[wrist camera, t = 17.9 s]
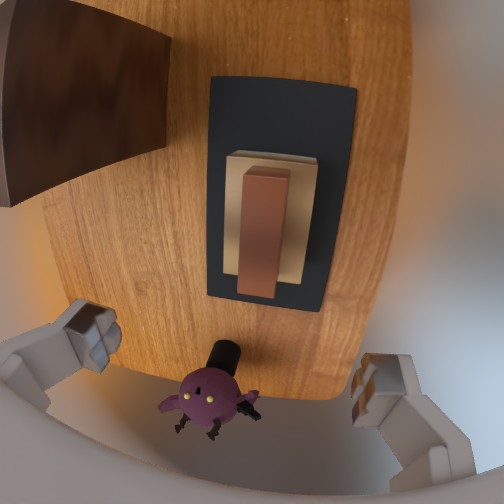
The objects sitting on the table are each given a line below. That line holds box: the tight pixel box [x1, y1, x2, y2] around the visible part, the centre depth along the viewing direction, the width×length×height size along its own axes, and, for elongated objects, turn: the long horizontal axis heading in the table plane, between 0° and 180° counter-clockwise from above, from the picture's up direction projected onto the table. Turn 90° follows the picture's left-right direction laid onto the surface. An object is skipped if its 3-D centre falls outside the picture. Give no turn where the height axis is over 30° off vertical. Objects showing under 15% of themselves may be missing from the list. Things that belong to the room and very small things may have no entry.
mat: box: [207, 76, 357, 312], centre depth 23 cm, size 20×11×1 cm, turn 176°
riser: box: [0, 0, 171, 207], centre depth 14 cm, size 10×8×16 cm
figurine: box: [158, 340, 261, 441], centre depth 27 cm, size 8×8×12 cm
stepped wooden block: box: [223, 150, 318, 298], centre depth 20 cm, size 9×6×6 cm, turn 176°
